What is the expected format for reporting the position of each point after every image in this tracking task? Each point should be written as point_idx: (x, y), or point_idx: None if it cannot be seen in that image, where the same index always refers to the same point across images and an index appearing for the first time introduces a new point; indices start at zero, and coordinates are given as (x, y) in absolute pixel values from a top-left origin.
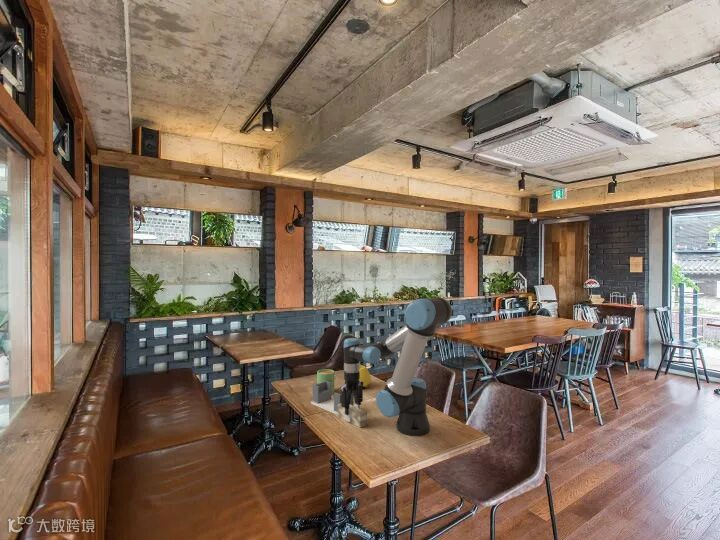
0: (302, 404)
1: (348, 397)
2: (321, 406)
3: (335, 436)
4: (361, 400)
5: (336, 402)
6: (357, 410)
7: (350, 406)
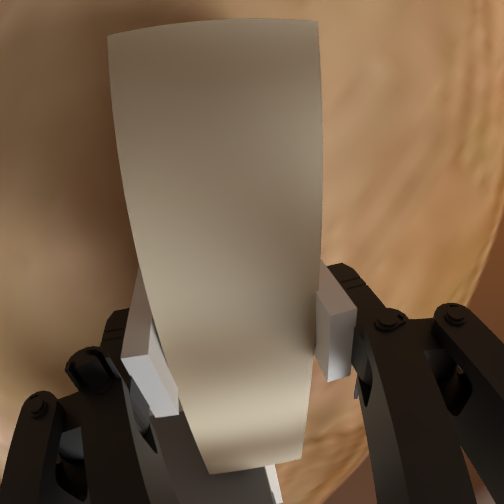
0: (314, 491)
1: (460, 482)
2: (276, 475)
3: (489, 95)
4: (42, 417)
5: (268, 481)
6: (222, 226)
7: (225, 396)
